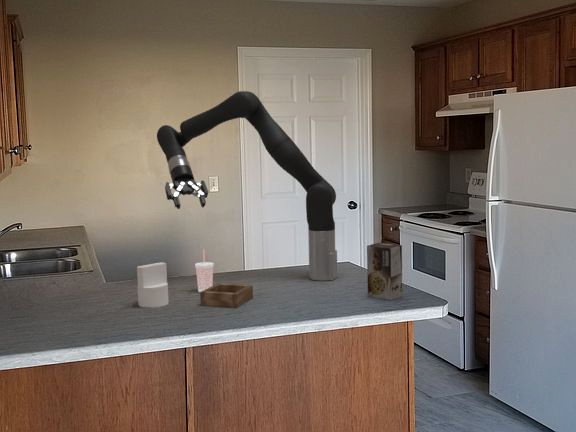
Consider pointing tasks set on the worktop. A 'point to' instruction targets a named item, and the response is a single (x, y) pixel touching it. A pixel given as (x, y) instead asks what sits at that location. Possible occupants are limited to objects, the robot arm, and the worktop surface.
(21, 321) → the worktop surface
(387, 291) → the coffee box
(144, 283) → the cylinder with rectangular tab
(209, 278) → the beverage cup
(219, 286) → the walnut collar
